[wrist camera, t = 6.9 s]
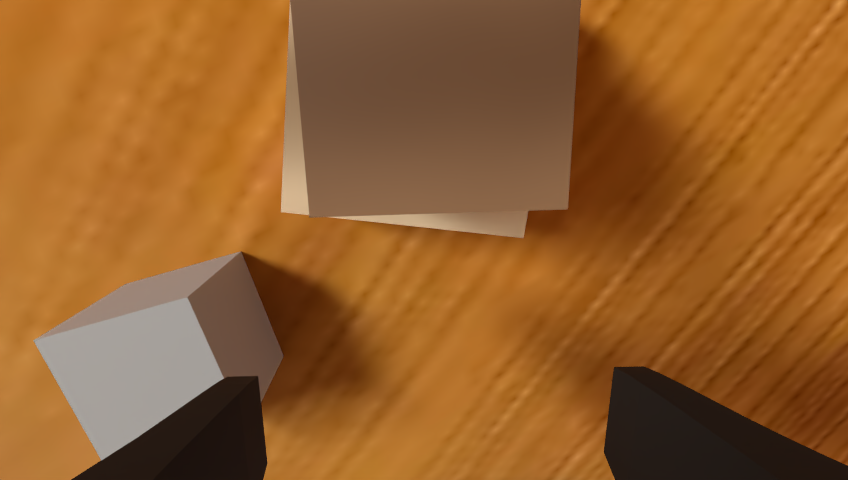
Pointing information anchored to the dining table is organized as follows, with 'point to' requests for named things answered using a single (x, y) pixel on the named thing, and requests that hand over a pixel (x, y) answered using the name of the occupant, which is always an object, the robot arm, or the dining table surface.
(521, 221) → the base block
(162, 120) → the dining table surface
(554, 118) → the walnut block
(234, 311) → the slate block
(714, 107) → the dining table surface
